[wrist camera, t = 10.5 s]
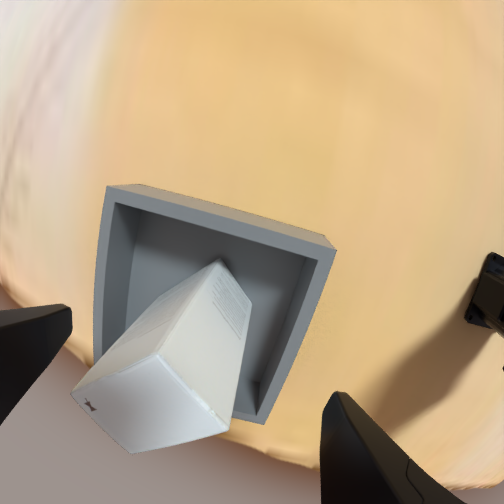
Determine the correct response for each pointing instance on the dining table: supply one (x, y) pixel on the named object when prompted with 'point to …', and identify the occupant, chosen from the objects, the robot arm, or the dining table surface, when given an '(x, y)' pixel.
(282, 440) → the dining table surface
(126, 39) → the dining table surface
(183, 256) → the box
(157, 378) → the skincare box
